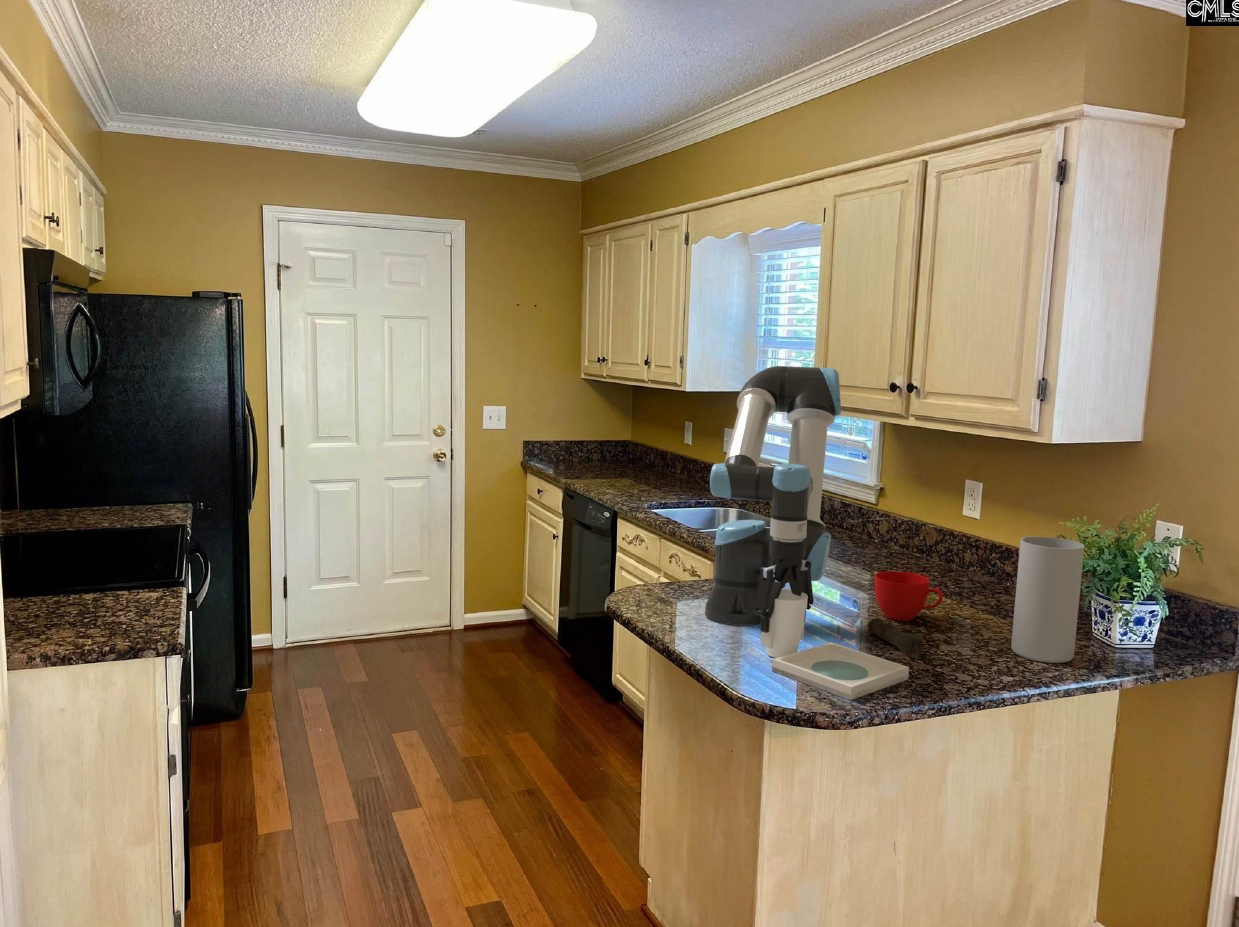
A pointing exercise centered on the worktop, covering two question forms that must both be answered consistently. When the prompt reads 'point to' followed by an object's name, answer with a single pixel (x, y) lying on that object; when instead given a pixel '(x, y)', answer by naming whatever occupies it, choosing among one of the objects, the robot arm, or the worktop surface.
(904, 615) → the ceramic cup
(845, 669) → the square white tray
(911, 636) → the hand tool
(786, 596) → the foam cup
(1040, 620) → the cylinder vase
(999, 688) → the worktop surface
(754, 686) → the worktop surface
